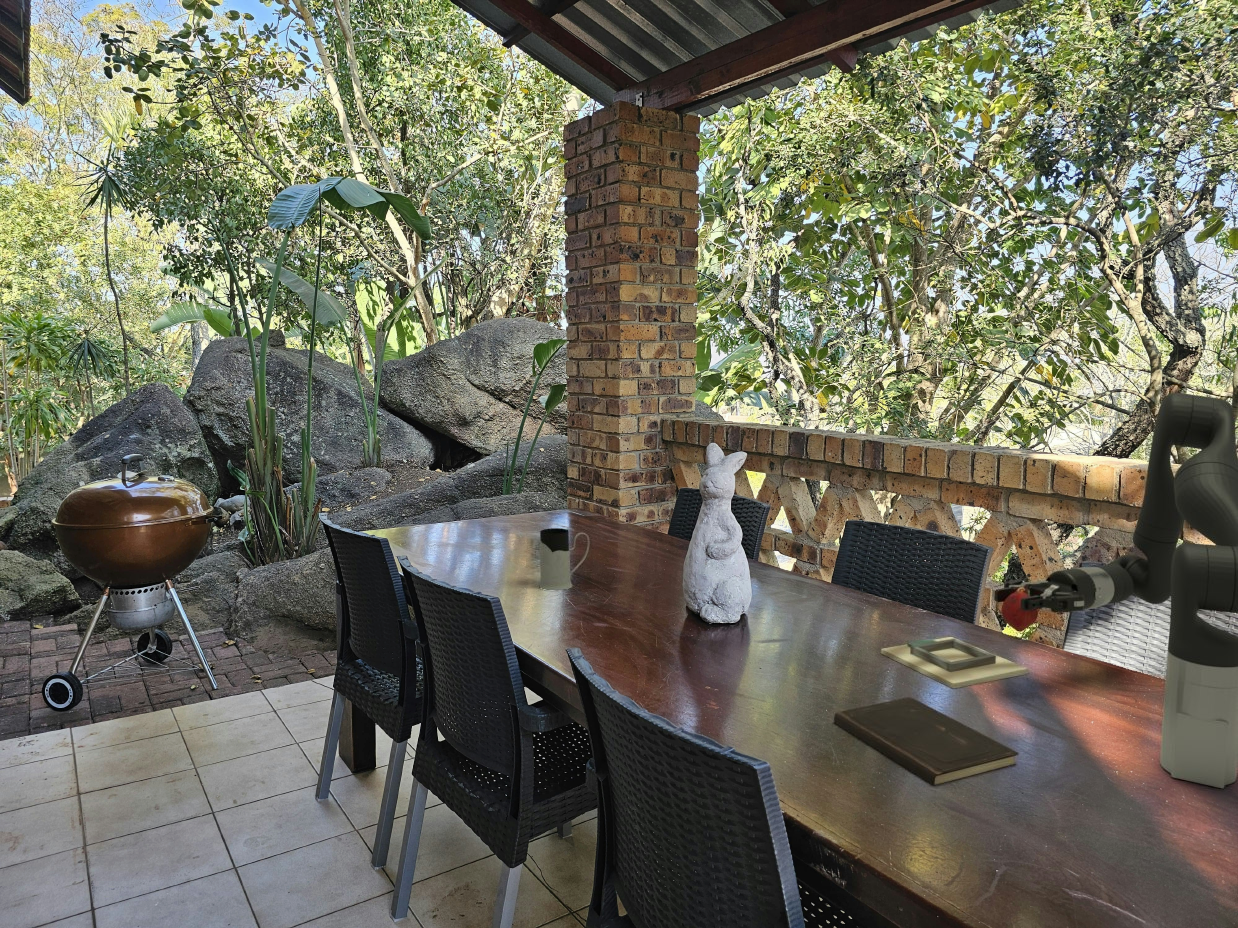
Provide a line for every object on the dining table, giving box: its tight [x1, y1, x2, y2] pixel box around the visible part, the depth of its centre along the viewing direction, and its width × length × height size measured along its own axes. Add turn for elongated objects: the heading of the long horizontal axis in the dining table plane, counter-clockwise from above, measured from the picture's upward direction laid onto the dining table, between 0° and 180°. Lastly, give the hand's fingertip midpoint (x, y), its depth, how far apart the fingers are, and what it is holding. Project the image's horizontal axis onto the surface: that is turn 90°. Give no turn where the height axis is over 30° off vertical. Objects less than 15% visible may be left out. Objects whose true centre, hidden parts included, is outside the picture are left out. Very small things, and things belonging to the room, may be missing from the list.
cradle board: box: [880, 636, 1029, 689], centre depth 168 cm, size 20×18×2 cm
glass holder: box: [539, 527, 590, 591], centre depth 227 cm, size 9×14×15 cm, turn 115°
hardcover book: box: [833, 696, 1020, 787], centre depth 134 cm, size 16×23×2 cm
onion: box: [1000, 587, 1039, 633], centre depth 151 cm, size 6×6×8 cm
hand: (1009, 600), depth 150 cm, fingers closed on onion, 5 cm apart
